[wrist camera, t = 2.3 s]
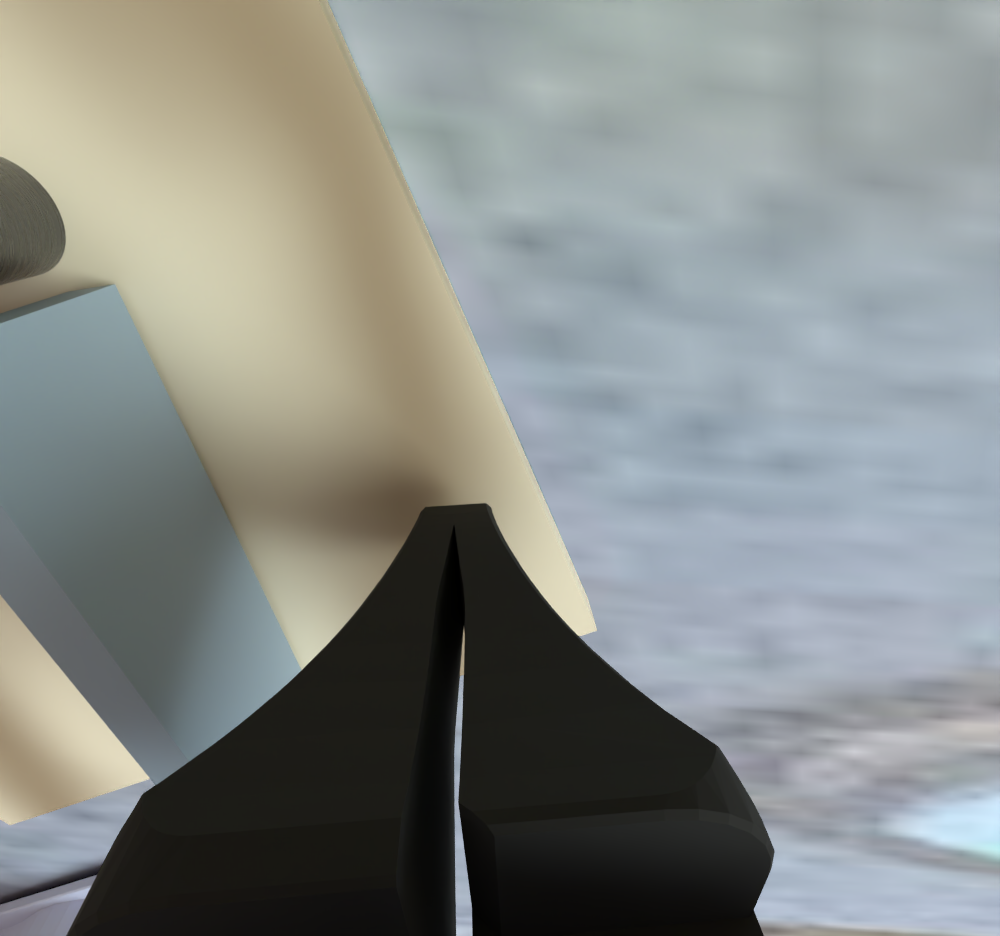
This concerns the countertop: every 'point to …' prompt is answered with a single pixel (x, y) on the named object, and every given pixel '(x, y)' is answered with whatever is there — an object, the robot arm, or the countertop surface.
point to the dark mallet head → (27, 226)
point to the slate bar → (124, 537)
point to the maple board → (253, 321)
